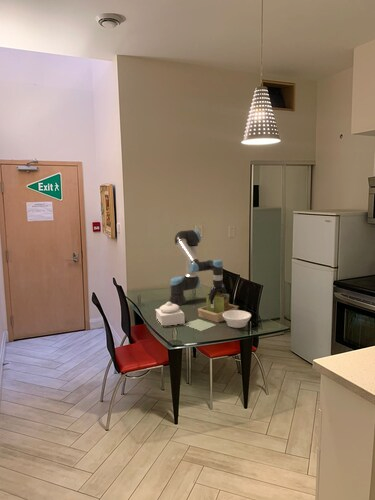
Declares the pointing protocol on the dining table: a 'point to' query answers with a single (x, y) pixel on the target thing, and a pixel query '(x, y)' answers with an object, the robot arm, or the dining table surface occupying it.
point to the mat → (199, 324)
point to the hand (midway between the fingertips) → (217, 306)
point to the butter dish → (170, 314)
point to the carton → (214, 316)
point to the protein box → (218, 303)
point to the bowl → (236, 318)
